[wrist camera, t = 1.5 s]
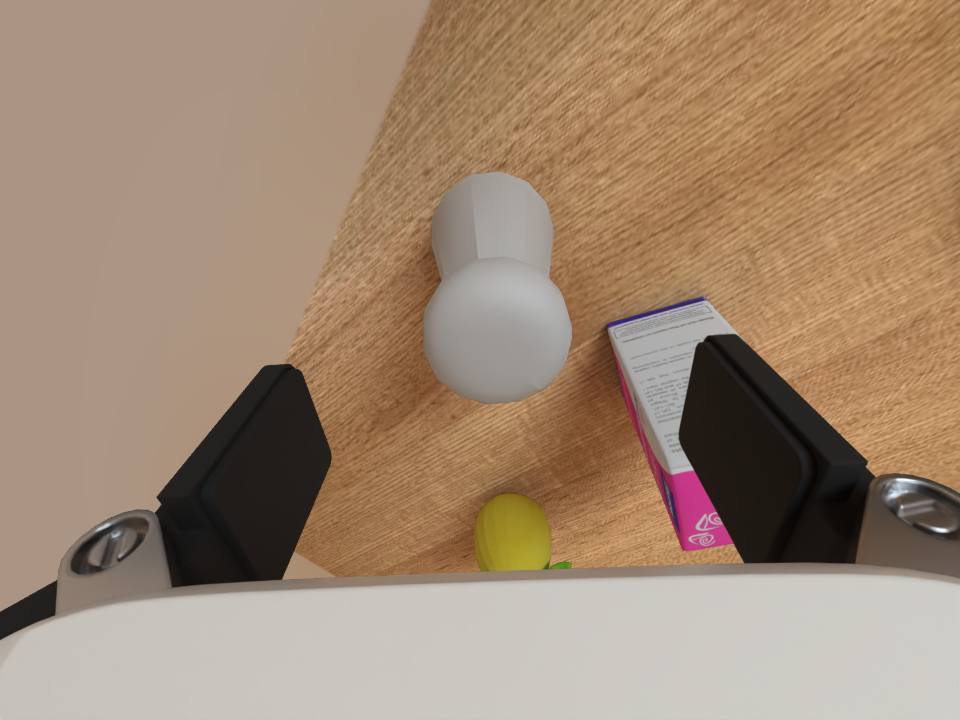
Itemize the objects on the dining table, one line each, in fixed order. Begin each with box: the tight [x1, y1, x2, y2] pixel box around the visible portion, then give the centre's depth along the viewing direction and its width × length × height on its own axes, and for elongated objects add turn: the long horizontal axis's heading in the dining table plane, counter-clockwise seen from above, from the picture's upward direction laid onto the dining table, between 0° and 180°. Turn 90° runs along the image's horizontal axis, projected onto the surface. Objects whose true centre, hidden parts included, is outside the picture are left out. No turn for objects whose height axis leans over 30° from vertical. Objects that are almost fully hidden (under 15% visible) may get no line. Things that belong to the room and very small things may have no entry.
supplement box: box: [607, 296, 744, 551], centre depth 22 cm, size 6×6×12 cm
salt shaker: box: [423, 172, 572, 404], centre depth 17 cm, size 6×6×13 cm
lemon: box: [474, 494, 572, 572], centre depth 30 cm, size 7×6×10 cm
